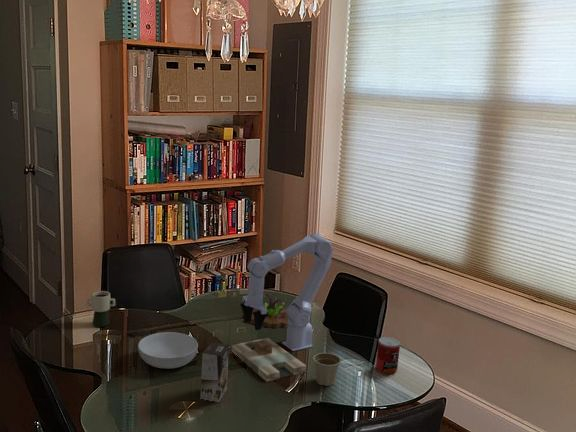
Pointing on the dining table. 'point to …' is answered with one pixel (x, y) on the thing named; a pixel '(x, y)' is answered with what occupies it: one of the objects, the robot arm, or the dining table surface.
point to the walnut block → (263, 347)
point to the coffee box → (214, 371)
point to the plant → (273, 314)
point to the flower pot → (326, 368)
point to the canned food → (387, 355)
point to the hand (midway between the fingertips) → (252, 325)
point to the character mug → (100, 307)
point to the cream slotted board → (269, 360)
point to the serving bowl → (168, 349)
